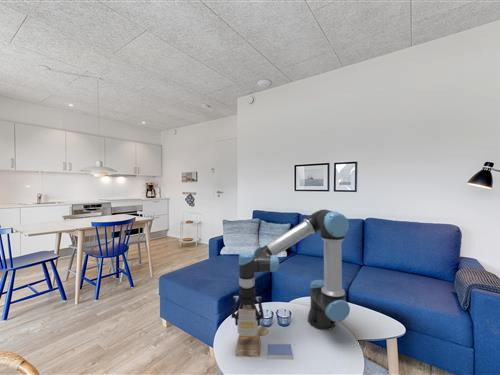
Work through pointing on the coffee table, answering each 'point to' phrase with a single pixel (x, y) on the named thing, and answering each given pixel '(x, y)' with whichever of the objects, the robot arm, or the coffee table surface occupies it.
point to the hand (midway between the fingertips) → (247, 331)
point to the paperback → (280, 351)
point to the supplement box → (247, 321)
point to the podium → (248, 346)
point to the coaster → (262, 331)
